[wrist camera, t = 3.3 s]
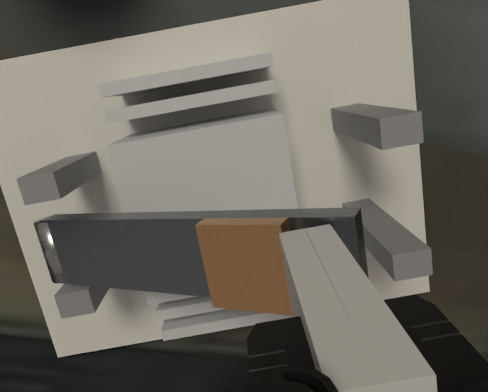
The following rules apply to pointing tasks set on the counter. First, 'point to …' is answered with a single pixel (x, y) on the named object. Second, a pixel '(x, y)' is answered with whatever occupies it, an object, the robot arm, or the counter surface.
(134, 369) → the counter surface
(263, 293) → the lever
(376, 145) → the heatsink base
